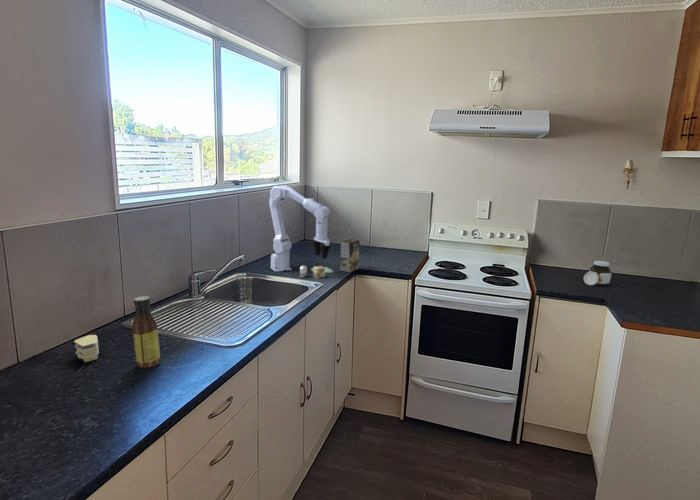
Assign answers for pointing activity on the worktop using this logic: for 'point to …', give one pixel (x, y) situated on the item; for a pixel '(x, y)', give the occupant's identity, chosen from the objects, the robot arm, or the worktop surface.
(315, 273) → the maple block
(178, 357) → the worktop surface
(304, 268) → the clear glass cylinder
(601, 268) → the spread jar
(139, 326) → the sauce bottle
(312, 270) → the sage tile
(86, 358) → the cream layered block
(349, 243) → the coffee box
